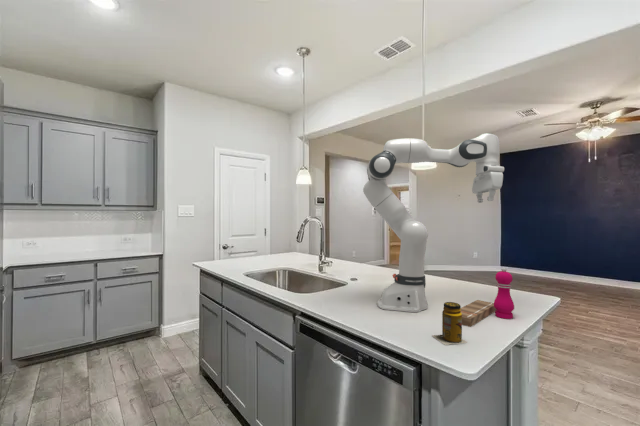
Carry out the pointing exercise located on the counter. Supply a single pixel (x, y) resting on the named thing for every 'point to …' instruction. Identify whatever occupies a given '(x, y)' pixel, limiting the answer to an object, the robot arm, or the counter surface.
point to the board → (476, 312)
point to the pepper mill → (504, 295)
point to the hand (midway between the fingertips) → (484, 201)
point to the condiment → (451, 324)
